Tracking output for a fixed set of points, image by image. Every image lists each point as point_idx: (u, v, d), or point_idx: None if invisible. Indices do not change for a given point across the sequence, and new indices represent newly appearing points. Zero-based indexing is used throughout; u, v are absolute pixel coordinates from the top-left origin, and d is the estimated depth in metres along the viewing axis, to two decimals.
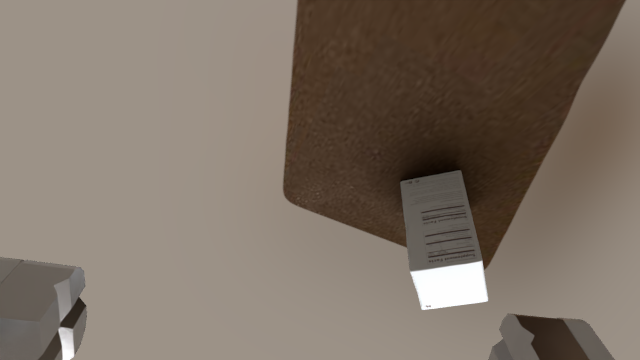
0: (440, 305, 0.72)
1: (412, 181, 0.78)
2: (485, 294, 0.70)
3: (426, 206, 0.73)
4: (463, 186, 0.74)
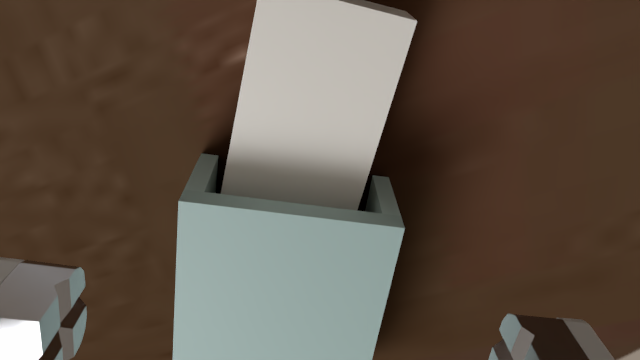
0: None
1: None
2: None
3: None
4: None
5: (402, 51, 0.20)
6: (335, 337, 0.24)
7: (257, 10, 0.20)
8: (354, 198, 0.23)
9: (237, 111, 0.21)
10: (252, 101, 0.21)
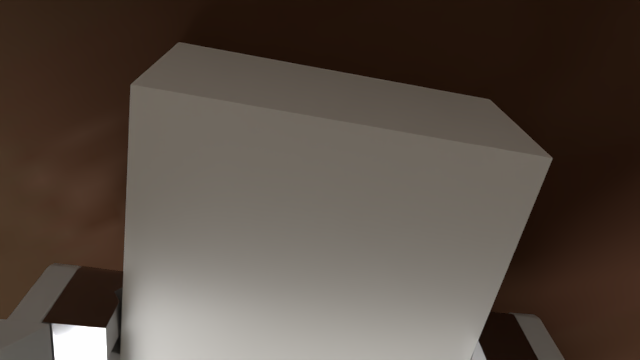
0: None
1: None
2: None
3: None
4: None
5: (510, 227, 0.08)
6: None
7: (133, 158, 0.07)
8: None
9: None
10: (152, 348, 0.09)
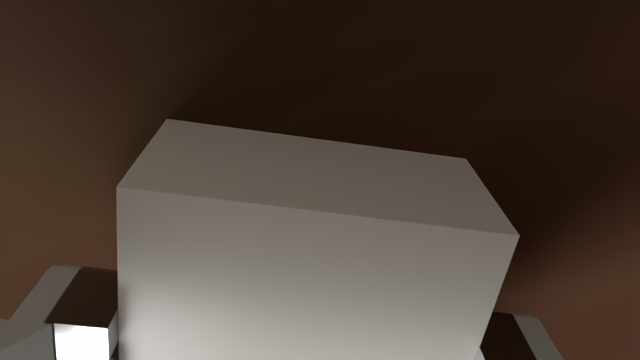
0: None
1: None
2: None
3: None
4: None
5: (484, 298, 0.09)
6: None
7: (122, 251, 0.08)
8: None
9: None
10: None
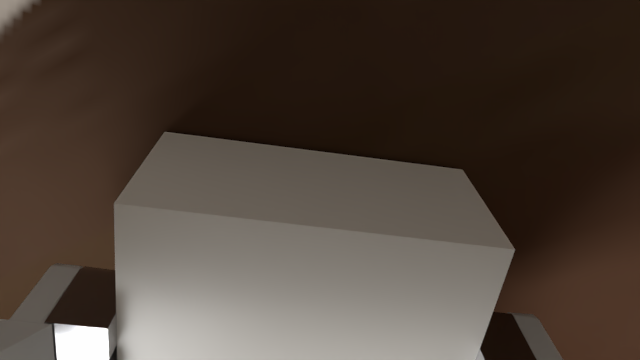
0: None
1: None
2: None
3: None
4: None
5: (480, 311, 0.09)
6: None
7: (120, 266, 0.08)
8: None
9: None
10: None
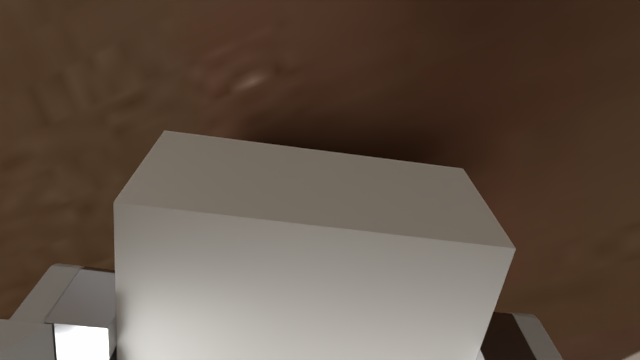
0: None
1: None
2: None
3: None
4: None
5: (481, 310, 0.09)
6: None
7: (119, 265, 0.08)
8: None
9: None
10: None
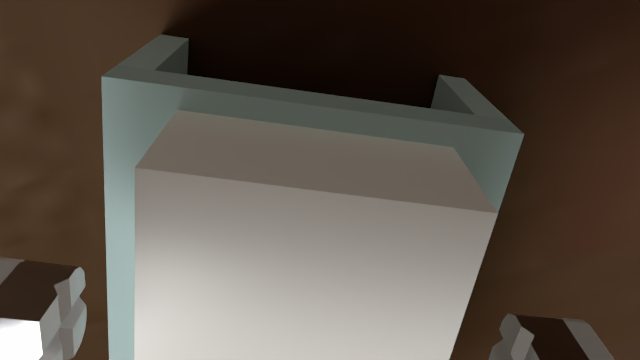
0: None
1: None
2: None
3: None
4: None
5: (467, 271, 0.09)
6: None
7: (139, 226, 0.09)
8: None
9: None
10: None
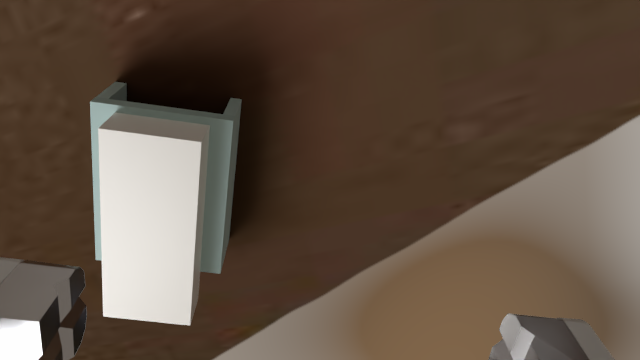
0: None
1: None
2: None
3: None
4: None
5: (197, 160, 0.32)
6: None
7: (99, 145, 0.31)
8: (190, 251, 0.35)
9: (101, 204, 0.33)
10: (108, 198, 0.33)
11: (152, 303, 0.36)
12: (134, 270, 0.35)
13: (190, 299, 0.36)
